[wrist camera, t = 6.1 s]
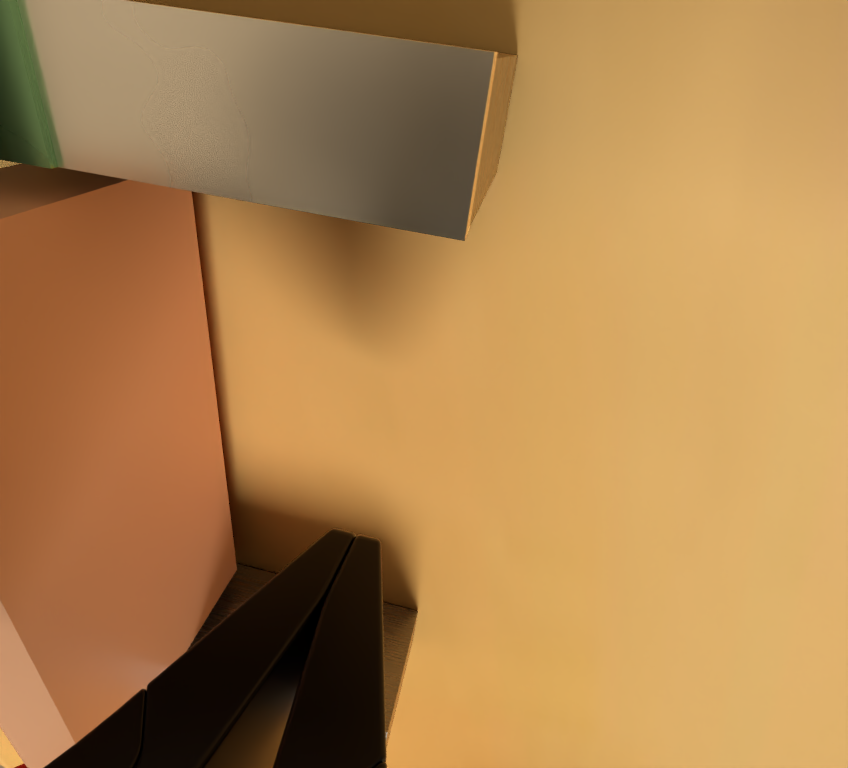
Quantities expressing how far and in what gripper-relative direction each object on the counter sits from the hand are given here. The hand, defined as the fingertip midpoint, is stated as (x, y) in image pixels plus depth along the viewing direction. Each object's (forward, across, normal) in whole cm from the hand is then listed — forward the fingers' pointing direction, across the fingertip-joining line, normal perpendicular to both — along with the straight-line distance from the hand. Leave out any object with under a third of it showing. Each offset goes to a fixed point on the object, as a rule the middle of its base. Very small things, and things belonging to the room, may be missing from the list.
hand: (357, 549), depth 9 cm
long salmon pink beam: (+2, +4, -1) cm, 5 cm away
